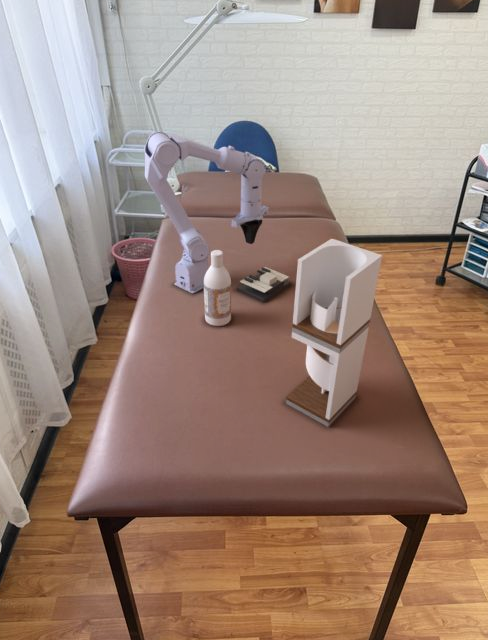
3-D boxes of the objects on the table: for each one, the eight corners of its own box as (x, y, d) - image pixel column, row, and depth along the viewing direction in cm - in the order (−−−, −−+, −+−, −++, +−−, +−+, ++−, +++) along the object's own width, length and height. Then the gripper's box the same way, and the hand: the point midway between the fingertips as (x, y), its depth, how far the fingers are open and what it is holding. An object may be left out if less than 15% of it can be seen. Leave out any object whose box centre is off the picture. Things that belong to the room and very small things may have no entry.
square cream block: (276, 282, 147) (277, 275, 146) (269, 286, 145) (269, 280, 144) (267, 277, 149) (267, 271, 148) (259, 282, 147) (259, 276, 146)
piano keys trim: (289, 277, 149) (289, 274, 149) (264, 292, 142) (264, 290, 141) (265, 267, 154) (265, 265, 153) (239, 281, 146) (239, 279, 146)
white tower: (314, 377, 117) (331, 238, 97) (355, 397, 111) (382, 255, 92) (286, 403, 110) (298, 259, 90) (328, 427, 104) (350, 279, 84)
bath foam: (213, 329, 132) (211, 261, 120) (200, 317, 136) (197, 250, 125) (235, 321, 135) (236, 254, 123) (222, 309, 139) (221, 243, 128)
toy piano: (290, 285, 151) (291, 276, 149) (263, 303, 143) (263, 294, 141) (264, 274, 156) (264, 265, 155) (236, 290, 148) (236, 281, 146)
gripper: (245, 209, 136) (244, 255, 144) (277, 195, 146) (275, 238, 153) (225, 203, 140) (226, 247, 148) (258, 189, 149) (257, 231, 157)
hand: (249, 242), depth 151 cm, fingers closed
